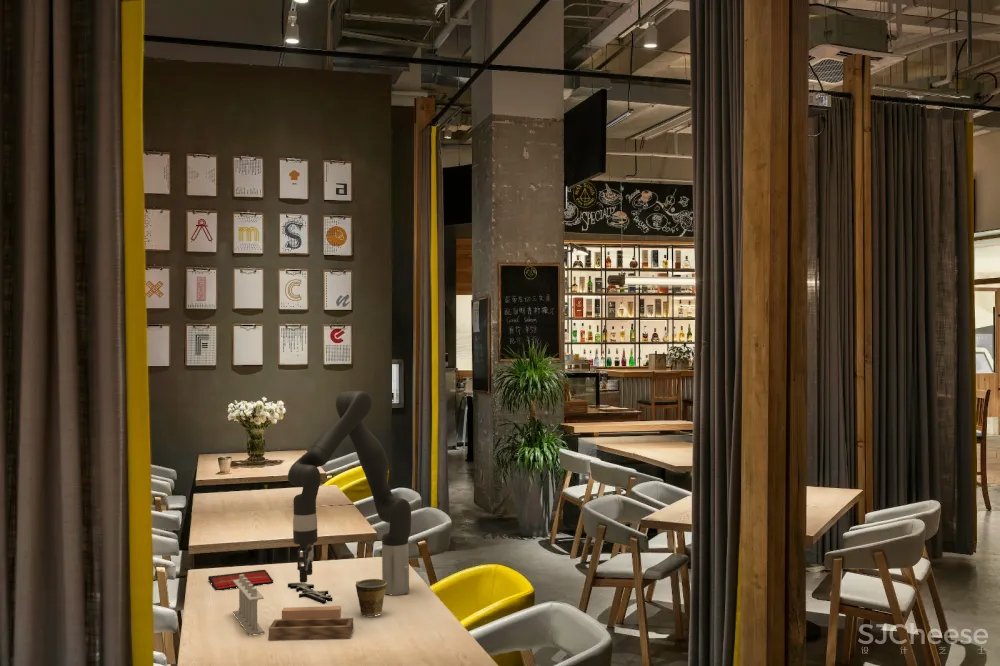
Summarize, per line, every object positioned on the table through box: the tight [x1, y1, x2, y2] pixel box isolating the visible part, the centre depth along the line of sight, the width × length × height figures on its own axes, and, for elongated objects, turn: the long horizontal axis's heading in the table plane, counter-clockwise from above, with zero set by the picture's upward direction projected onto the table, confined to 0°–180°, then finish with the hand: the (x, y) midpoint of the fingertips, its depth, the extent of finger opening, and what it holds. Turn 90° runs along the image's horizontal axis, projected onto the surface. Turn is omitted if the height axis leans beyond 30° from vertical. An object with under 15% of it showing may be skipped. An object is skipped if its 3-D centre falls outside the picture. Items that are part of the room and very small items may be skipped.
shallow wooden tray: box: [268, 617, 354, 641], centre depth 268 cm, size 24×9×3 cm, turn 92°
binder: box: [207, 569, 274, 591], centre depth 326 cm, size 16×2×21 cm
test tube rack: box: [232, 574, 265, 636], centre depth 279 cm, size 25×4×13 cm, turn 28°
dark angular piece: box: [287, 582, 333, 605], centre depth 310 cm, size 27×2×10 cm
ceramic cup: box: [355, 578, 387, 617], centre depth 288 cm, size 13×10×10 cm
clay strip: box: [281, 605, 342, 619], centre depth 280 cm, size 18×4×4 cm, turn 94°
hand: (306, 578), depth 280 cm, fingers open, 8 cm apart
